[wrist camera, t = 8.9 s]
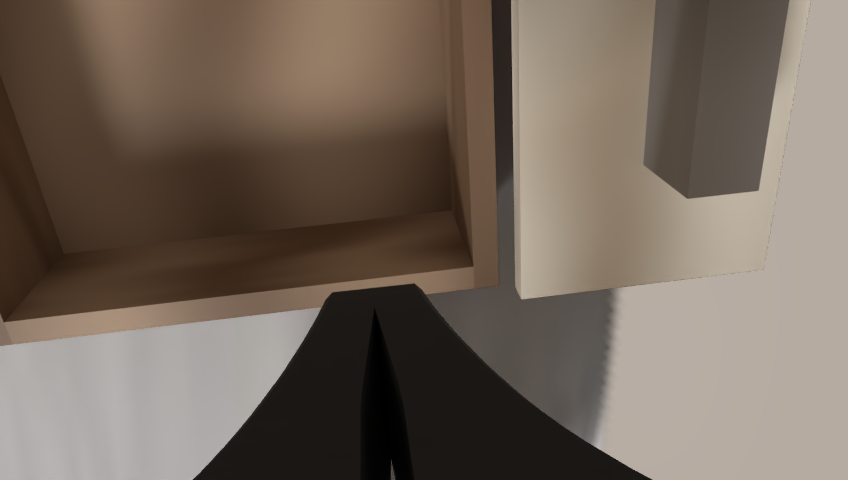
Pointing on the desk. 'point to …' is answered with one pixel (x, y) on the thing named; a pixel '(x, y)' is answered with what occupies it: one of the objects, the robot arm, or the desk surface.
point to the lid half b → (648, 137)
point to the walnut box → (238, 157)
